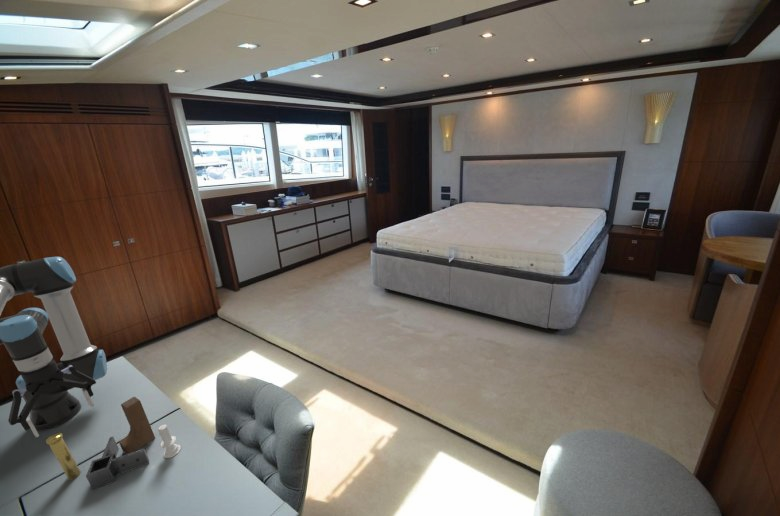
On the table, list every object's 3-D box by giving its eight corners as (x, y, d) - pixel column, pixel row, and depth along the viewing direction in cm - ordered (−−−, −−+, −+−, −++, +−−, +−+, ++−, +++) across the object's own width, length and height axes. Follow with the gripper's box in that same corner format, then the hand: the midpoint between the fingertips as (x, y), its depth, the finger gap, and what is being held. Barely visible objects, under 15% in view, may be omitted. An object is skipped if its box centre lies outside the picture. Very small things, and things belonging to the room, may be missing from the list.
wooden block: (128, 457, 118) (110, 417, 112) (122, 451, 121) (104, 412, 115) (155, 438, 125) (140, 400, 119) (150, 433, 128) (134, 395, 122)
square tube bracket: (107, 452, 121) (101, 440, 119) (155, 436, 126) (150, 423, 124) (92, 489, 108) (85, 476, 106) (147, 469, 113) (141, 456, 111)
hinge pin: (65, 476, 113) (44, 439, 107) (79, 467, 116) (60, 430, 110) (68, 482, 111) (47, 444, 105) (83, 473, 114) (63, 436, 108)
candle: (166, 461, 116) (155, 435, 112) (161, 452, 119) (151, 426, 115) (183, 450, 119) (173, 424, 115) (178, 442, 123) (168, 417, 119)
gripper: (-24, 396, 89) (13, 454, 96) (92, 346, 108) (115, 398, 116) (-29, 386, 93) (7, 443, 100) (84, 340, 112) (107, 390, 120)
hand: (65, 419), depth 108 cm, fingers open, 13 cm apart
